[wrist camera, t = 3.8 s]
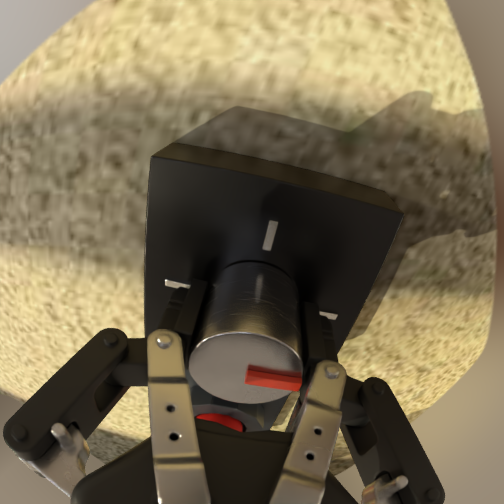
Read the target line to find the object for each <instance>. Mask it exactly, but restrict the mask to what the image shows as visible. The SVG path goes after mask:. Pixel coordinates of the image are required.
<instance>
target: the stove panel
mask: <svg viewBox="0 0 504 504" xmlns="http://www.w3.org/2000/svg"><path fill="white" fill-rule="evenodd" d="M403 217H404V213H403V212H402V211H401V210H400V209H399V207H398V206H397V205H396V204H395V203H394V202H393V201H392V200H391V198H390V197H389V196H388V195H387V194H386V193H385V192H384V191H381V190H378V189H374V188H371V187H368V186H364V185H361V184H358V183H354V182H351V181H347V180H343V179H340V178H336V177H333V176H329V175H325V174H321V173H317V172H314V171H310V170H306V169H302V168H298V167H293V166H289V165H285V164H281V163H276V162H272V161H268V160H263V159H258V158H254V157H249V156H244V155H239V154H234V153H229V152H224V151H219V150H213V149H208V148H202V147H197V146H191V145H185V144H179V143H171V144H169V145H168V146H166V147H165V148H163V149H161V150H160V151H158V152H157V153H155V154H154V155H152V156H151V161H150V171H149V182H148V195H147V210H146V228H145V254H144V328H145V337H148V336H149V335H150V334H151V333H152V332H153V331H155V330H157V328H158V326H159V323H160V321H161V319H162V316H163V314H164V311H165V309H166V307H167V304H168V302H169V300H170V297H171V295H172V293H173V292H174V291H175V290H176V289H177V288H179V287H180V286H181V287H185V288H189V287H190V285H191V282H192V280H193V278H194V279H199V280H203V281H208V288H209V285H210V283H211V281H212V280H213V278H214V277H215V276H216V275H217V274H218V273H219V272H220V271H222V270H223V269H225V268H227V267H229V266H231V265H234V264H238V263H243V262H258V263H264V264H268V265H271V266H273V267H275V268H277V269H279V270H281V271H282V272H284V273H285V274H286V275H287V276H288V277H289V278H290V279H291V280H292V281H293V283H294V285H295V286H296V289H297V291H298V296H299V308H300V305H301V303H302V302H303V301H305V302H310V303H316V304H318V305H319V311H320V315H323V316H327V318H328V319H329V321H330V322H331V324H332V329H333V334H334V340H335V346H336V352H337V354H338V352H339V350H340V349H341V347H342V345H343V343H344V341H345V340H346V338H347V336H348V334H349V332H350V330H351V328H352V327H353V325H354V323H355V321H356V319H357V317H358V315H359V313H360V311H361V309H362V307H363V305H364V303H365V301H366V299H367V297H368V295H369V293H370V291H371V289H372V287H373V285H374V283H375V281H376V279H377V277H378V275H379V273H380V270H381V268H382V266H383V264H384V262H385V259H386V257H387V255H388V253H389V250H390V248H391V246H392V244H393V241H394V239H395V237H396V234H397V232H398V229H399V227H400V225H401V222H402V220H403ZM208 288H207V291H208Z"/></svg>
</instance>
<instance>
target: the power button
mask: <svg viewBox="0 0 504 504" xmlns="http://www.w3.org/2000/svg"><path fill="white" fill-rule="evenodd" d="M196 418H199V419H204V420H209V421H214V422H218V423H220V424H222V425H225V426H227V427H230V428H232V429H235V430H237V431H240V432H242V428H243V425H242V423H241V422H240V421H239V420H237V419H235V418H233V417H231V416H228V415H222V414H217V413H209V414H200V415H198V416H197V417H196Z"/></svg>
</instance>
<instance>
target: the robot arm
mask: <svg viewBox="0 0 504 504" xmlns="http://www.w3.org/2000/svg"><path fill="white" fill-rule="evenodd" d="M207 288H208V281H203V280H199V279H194V278H193V280H192V282H191V285H190V287H189V288H185V287H181V286H180V287H179V288H177V289H176V290H175V291H174V292H173V293H172V295H171V297H170V300H169V302H168V304H167V307H166V309H165V311H164V314H163V316H162V319H161V321H160V323H159V326H158V328H157V330H155V331H153V332H152V333H151V334H150V335H149V336H148V337H145V338H127V336H126V334H125V333H124V332H123V331H121V330H119V329H115V328H107V329H104V330H101V331H100V332H99V333H97V334H96V335H95V336H94V337H93V338H92V339H91V340H90V341H89V342H88V343H87V344H86V345H85V346H84V347H82V348H81V349H80V350H79V351H78V352H77V353H76V354H75V355H74V356H73V357H72V358H71V359H70V360H69V361H68V362H67V363H66V364H65V365H64V366H62V367H61V368H60V369H59V370H58V371H57V372H56V373H55V374H54V375H53V376H52V377H51V378H50V379H49V380H48V381H47V382H46V383H45V384H44V385H43V386H42V387H41V388H40V389H39V390H38V391H37V392H36V393H35V394H34V395H33V396H32V397H31V398H30V399H29V400H28V401H27V402H26V403H25V404H24V405H23V406H22V407H21V408H20V409H19V410H18V411H17V412H16V413H15V414H14V415H13V416H12V417H11V418H10V419H9V420H8V421H7V422H6V424H5V426H4V429H3V437H4V440H5V442H6V444H7V445H8V446H9V447H10V448H11V449H12V450H13V451H14V453H15V454H16V456H17V457H19V459H20V460H21V461H23V462H24V463H25V464H26V465H27V466H28V467H29V468H30V469H32V470H33V471H34V472H35V473H37V474H38V475H39V476H41V477H44V478H47V479H48V480H49V481H50V482H52V483H53V484H54V485H55V486H57V487H58V488H59V489H60V490H62V491H63V492H64V493H65V494H67V495H68V496H69V497H71V504H358V503H357V502H356V500H355V499H354V498H353V497H352V496H351V495H350V494H349V493H348V492H347V490H346V489H345V488H344V487H343V486H342V485H341V483H340V482H339V481H338V480H337V479H336V478H335V477H334V475H333V474H332V473H331V472H330V471H329V470H328V468H329V465H330V461H331V458H332V454H333V450H334V447H335V443H336V439H337V435H338V431H339V427H340V429H341V431H342V434H343V436H344V438H345V441H346V443H347V445H348V448H349V450H350V453H351V455H352V457H353V460H354V462H355V464H356V466H357V469H358V471H359V474H360V476H361V478H362V481H363V483H364V486H365V488H364V490H363V492H362V500H361V504H443V503H444V500H445V492H444V489H443V487H442V485H441V483H440V481H439V479H438V477H437V475H436V473H435V471H434V469H433V467H432V465H431V463H430V461H429V459H428V457H427V455H426V453H425V451H424V450H423V448H422V446H421V444H420V442H419V440H418V438H417V436H416V434H415V432H414V430H413V429H412V427H411V425H410V423H409V421H408V419H407V418H406V416H405V414H404V412H403V410H402V408H401V407H400V405H399V403H398V401H397V399H396V398H395V396H394V394H393V392H392V390H391V389H390V387H389V385H388V384H387V383H386V382H385V381H384V380H382V379H380V378H377V377H370V378H368V379H366V380H365V381H364V382H362V381H359V380H356V379H354V378H351V377H349V376H348V375H347V373H346V370H345V369H344V367H343V366H342V365H341V364H339V363H338V358H337V352H336V346H335V340H334V334H333V329H332V324H331V322H330V321H329V319H328V318H327V316H323V315H320V311H319V305H318V304H316V303H310V302H305V301H303V302H302V303H301V305H300V321H301V334H302V349H303V364H304V373H303V377H302V385H301V387H300V389H299V391H300V396H299V398H298V400H297V402H296V405H295V407H294V410H293V413H292V415H291V418H290V420H289V423H288V426H287V428H286V430H285V432H280V431H272V430H264V431H253V432H240V431H237V430H235V429H232V428H230V427H227V426H225V425H222V424H220V423H218V422H214V421H209V420H204V419H199V418H195V417H194V415H193V409H192V402H191V396H190V389H189V383H188V379H186V375H185V370H188V369H189V368H188V357H189V353H190V349H191V346H192V342H193V339H194V335H195V332H196V328H197V325H198V321H199V318H200V315H201V311H202V308H203V304H204V301H205V298H206V294H207ZM131 386H148V397H149V415H150V429H151V436H150V437H149V438H147V439H146V440H144V441H143V442H141V443H139V444H138V445H136V446H135V447H133V448H132V449H130V450H128V451H127V452H125V453H124V454H122V455H120V456H119V457H117V458H116V459H114V460H112V461H111V462H109V463H107V464H106V465H104V466H102V467H101V468H99V469H97V470H95V471H94V472H92V473H90V474H88V475H87V476H86V474H85V464H86V462H87V460H88V458H89V454H90V451H89V447H88V445H87V443H86V440H87V438H88V437H89V436H90V435H91V434H92V432H93V431H94V430H95V429H96V428H97V426H98V425H99V424H100V423H101V422H102V420H103V419H104V418H105V417H106V415H107V414H108V413H109V412H110V411H111V409H112V408H113V407H114V406H115V405H116V403H117V402H118V401H119V400H120V399H121V397H122V396H123V395H124V394H125V393H126V391H127V390H128V389H129V388H130V387H131Z"/></svg>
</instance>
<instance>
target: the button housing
mask: <svg viewBox="0 0 504 504" xmlns="http://www.w3.org/2000/svg"><path fill="white" fill-rule="evenodd" d="M185 375H186V379H188V383H189V389H190V396H191V402H192V409H193V415H194V417H195V418H196V417H197V416H198V415H200V414H209V413H217V414H222V415H228V416H231V417H233V418H235V419H237V420H239V421H240V422H241V423H242V425H243V428H242V432H253V431H264V430H270V428H271V427H272V425H273V423H274V421H275V420H276V418H277V416H278V414H279V413H280V411H281V409H282V407H283V405H284V404H285V402H286V400H287V398H288V396H289V394H290V393H289V394H288V395H286V396H284V397H282V398H280V399H277V400H274V401H270V402H265V403H256V404H247V403H237V402H232V401H228V400H224V399H221V398H219V397H216V396H214V395H212V394H210V393H209V392H207V391H205V390H204V389H203V388H201V387H200V386H199V385H198V384H197V383H196V382H195V381H194V379H193V378H192V376H191V374H190V372H189V369H188V370H185Z"/></svg>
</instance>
